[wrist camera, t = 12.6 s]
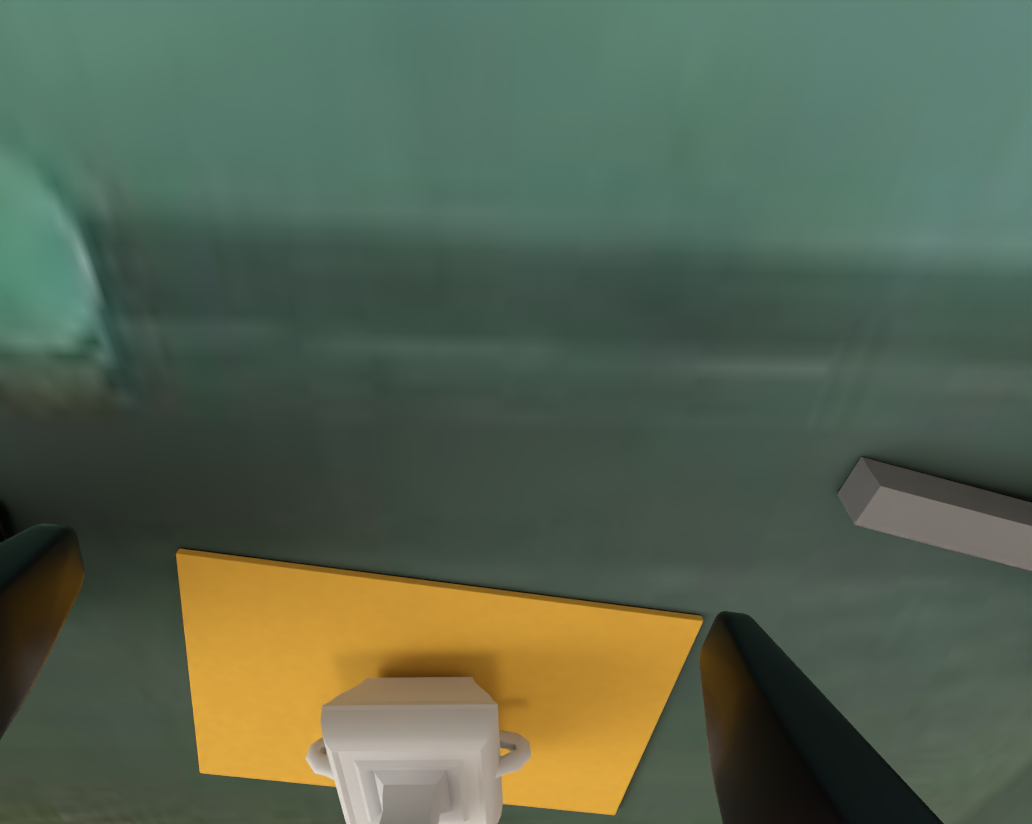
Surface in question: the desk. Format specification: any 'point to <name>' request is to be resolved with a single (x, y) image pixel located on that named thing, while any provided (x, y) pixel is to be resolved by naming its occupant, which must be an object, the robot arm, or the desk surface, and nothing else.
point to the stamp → (416, 751)
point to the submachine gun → (939, 512)
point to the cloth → (423, 668)
